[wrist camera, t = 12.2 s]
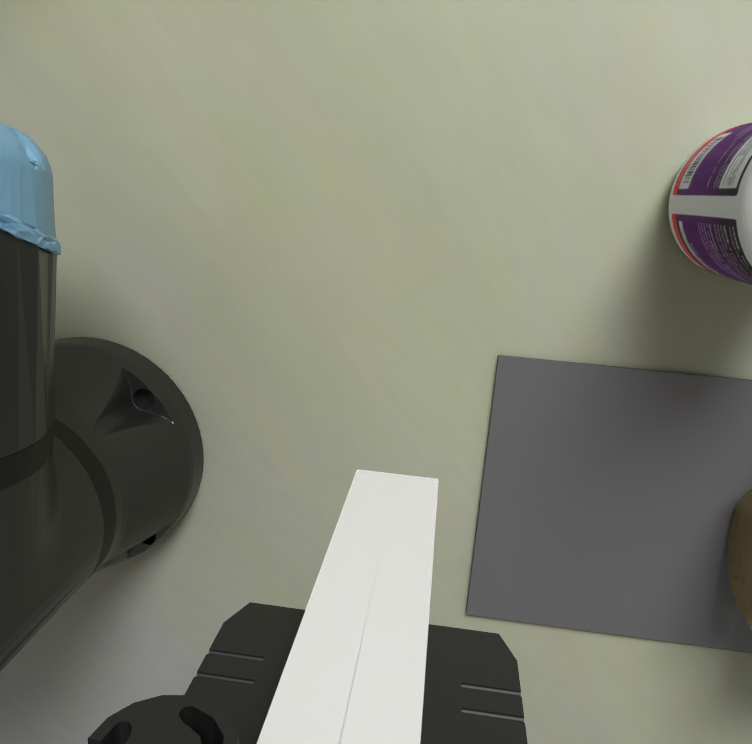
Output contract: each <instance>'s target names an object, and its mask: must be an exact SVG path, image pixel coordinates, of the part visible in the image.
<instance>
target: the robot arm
mask: <svg viewBox="0 0 752 744" xmlns="http://www.w3.org/2000/svg"><path fill="white" fill-rule="evenodd" d="M60 253H61V246H60V243H59V242H58V241H57V240H56V232H55V217H54V196H53V176H52V170H51V167H50V164H49V162H48V159H47V157H46V155H45V154H44V153H43V151H42V150H41V148H40V147H39V146H38V145H37V144H36V143H35V142H34V141H33V140H32V139H31V138H30V137H29V136H27V135H26V134H24V133H23V132H21V131H19V130H17V129H15V128H13V127H11V126H9V125H6V124H4V123H1V122H0V671H1V670H2V669H3V668H4V667H5V666H6V665H7V664H8V663H9V662H10V660H11V659H12V658H13V657H14V656H15V655H16V654H17V653H18V652H19V651H20V650H21V649H22V648H23V647H24V645H25V644H26V643H27V642H28V641H29V640H30V639H31V638H32V637H33V636H34V635H35V634H36V633H37V632H38V631H39V630H40V628H41V627H42V626H43V625H44V624H45V623H46V622H47V621H48V620H49V619H50V618H51V617H52V616H53V615H54V614H55V613H56V612H57V611H58V610H59V608H60V607H61V606H62V605H63V604H64V603H65V602H66V601H67V600H68V599H69V598H70V597H71V596H72V595H73V594H74V593H75V592H76V591H77V590H78V589H79V587H80V586H81V585H82V584H83V583H84V582H85V581H86V580H87V579H88V578H89V577H90V576H91V575H92V574H93V573H94V572H96V571H98V570H101V569H103V568H106V567H108V566H111V565H113V564H116V563H118V562H121V561H123V560H125V559H127V558H130V557H133V556H135V555H137V554H140V553H142V552H144V551H145V550H147V549H149V548H151V547H152V546H153V545H155V544H156V543H158V542H159V541H160V540H161V539H163V538H164V537H165V536H166V535H167V534H168V533H169V532H170V531H171V530H172V528H173V527H174V526H175V525H176V524H177V523H178V521H179V520H180V519H181V518H182V517H183V516H184V514H185V513H186V512H187V510H188V509H189V507H190V506H191V504H192V502H193V500H194V498H195V496H196V494H197V491H198V488H199V485H200V481H201V477H202V470H203V447H202V440H201V435H200V431H199V427H198V424H197V421H196V418H195V416H194V414H193V411H192V409H191V407H190V405H189V403H188V402H187V400H186V398H185V397H184V395H183V394H182V392H181V391H180V389H179V388H178V387H177V386H176V384H175V383H174V382H173V381H172V380H171V379H170V378H169V376H168V375H167V374H166V373H164V372H163V371H162V370H161V369H160V368H159V367H158V366H157V365H155V364H154V363H153V362H151V361H150V360H149V359H147V358H146V357H144V356H142V355H141V354H139V353H137V352H136V351H134V350H132V349H130V348H127V347H125V346H123V345H120V344H117V343H114V342H111V341H107V340H103V339H97V338H88V337H73V338H64V339H59V340H55V307H56V265H57V255H61V254H60ZM437 494H438V479H435V478H426V477H417V476H409V475H400V474H392V473H383V472H374V471H366V470H357V471H356V474H355V476H354V479H353V482H352V484H351V487H350V490H349V493H348V495H347V498H346V501H345V504H344V506H343V509H342V512H341V515H340V517H339V520H338V523H337V525H336V528H335V531H334V534H333V536H332V539H331V542H330V545H329V547H328V550H327V553H326V556H325V558H324V561H323V564H322V567H321V569H320V572H319V575H318V577H317V580H316V583H315V586H314V588H313V591H312V594H311V597H310V599H309V602H308V605H307V608H306V610H301V609H294V608H287V607H280V606H272V605H265V604H258V603H249V604H247V605H246V606H245V607H243V608H242V609H241V610H240V611H238V612H237V613H236V614H234V615H233V616H232V617H231V618H229V619H228V620H227V621H225V622H224V623H223V625H222V627H221V629H220V631H219V633H218V634H217V636H216V638H215V640H214V642H213V644H212V645H211V647H210V650H209V654H207V655H206V656H205V658H204V660H203V662H202V664H201V666H200V667H199V669H198V671H197V676H196V677H194V678H193V680H192V682H191V684H190V686H189V688H188V689H187V691H186V693H185V695H161V696H158V697H154V698H150V699H146V700H143V701H139V702H135V703H133V704H131V705H129V706H127V707H126V708H124V709H122V710H120V711H119V712H117V713H115V714H113V715H112V716H110V717H108V718H107V719H106V720H105V721H104V722H103V723H102V724H101V725H100V726H99V727H98V728H97V729H96V730H95V731H94V733H93V734H92V735H91V736H90V737H89V738H88V744H527V736H526V728H525V723H524V712H523V704H522V697H521V689H520V681H519V673H518V665H517V660H516V659H515V657H514V656H513V654H512V653H511V651H510V650H509V648H508V647H507V645H506V644H505V642H504V641H503V639H502V638H501V637H500V635H499V634H496V633H489V632H481V631H474V630H467V629H459V628H452V627H445V626H437V625H430V624H429V610H430V595H431V581H432V566H433V552H434V537H435V523H436V508H437Z"/></svg>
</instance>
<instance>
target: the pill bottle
mask: <svg viewBox="0 0 752 744" xmlns="http://www.w3.org/2000/svg"><path fill="white" fill-rule="evenodd" d="M669 221H670V226H671V230H672V233H673V236H674V238H675V240H676V242H677V244H678V245H679V247H680V249H681V250H682V251H683V252H684V254H685V255H686V256H687V257H688V258H689V259H690V260H692V261H693V262H694V263H695V264H697V265H698V266H700V267H702V268H703V269H705V270H707V271H710V272H712V273H715V274H717V275H720V276H724V277H728V278H732V279H735V280H738V281H742V282H745V283H749V284H752V123H748V124H744V125H740V126H737V127H734V128H731V129H728V130H725V131H723V132H721V133H719V134H717V135H715V136H713V137H712V138H710V139H708V140H707V141H706V142H704V143H703V144H702V145H700V146H699V147H698V148H697V149H696V150H695V151H694V152H693V153H692V154H691V155H690V156H689V157H688V159H687V160H686V161H685V163H684V164H683V165H682V167H681V169H680V170H679V172H678V174H677V176H676V178H675V181H674V183H673V186H672V189H671V193H670V198H669Z"/></svg>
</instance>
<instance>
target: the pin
mask: <svg viewBox="0 0 752 744" xmlns="http://www.w3.org/2000/svg"><path fill="white" fill-rule="evenodd" d="M728 572H729V579H730V585H731V590H732V593H733V597H734V600H735V602H736V605H737V607H738V609H739V611H740V613H741V615H742V617H743V618H744V619H745V621H746V622H747V623H748V624H749V625H750V626H752V489H750V490H749V491H747V492H746V493H745V494H744V496H743V497H742V498H741V500H740V501H739V503H738V505H737V507H736V509H735V512H734V515H733V518H732V522H731V526H730V531H729V538H728Z"/></svg>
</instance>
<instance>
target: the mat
mask: <svg viewBox="0 0 752 744" xmlns="http://www.w3.org/2000/svg"><path fill="white" fill-rule="evenodd" d="M750 489H752V380H747V379H736V378H726V377H716V376H706V375H696V374H686V373H675V372H665V371H655V370H645V369H635V368H625V367H614V366H604V365H594V364H584V363H574V362H564V361H553V360H543V359H533V358H523V357H513V356H503V355H498V363H497V371H496V379H495V387H494V395H493V403H492V411H491V419H490V427H489V435H488V443H487V451H486V459H485V467H484V475H483V483H482V491H481V499H480V507H479V515H478V523H477V531H476V538H475V546H474V554H473V562H472V570H471V578H470V586H469V594H468V602H467V610H466V615H473V616H480V617H488V618H495V619H503V620H510V621H517V622H525V623H532V624H540V625H547V626H555V627H562V628H569V629H577V630H584V631H592V632H599V633H607V634H614V635H621V636H629V637H636V638H644V639H651V640H659V641H666V642H674V643H681V644H688V645H696V646H703V647H711V648H718V649H726V650H733V651H740V652H748V653H752V630H751V628H750V627H749V625H748V624H747V622H746V621H745V619H744V618H743V617H742V615H741V613H740V612H739V610H738V607H737V605H736V602H735V600H734V597H733V593H732V590H731V585H730V579H729V572H728V538H729V531H730V526H731V522H732V518H733V515H734V512H735V509H736V507H737V505H738V503H739V501H740V500H741V498H742V497H743V496H744V494H745V493H746V492H747V491H749V490H750Z"/></svg>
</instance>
